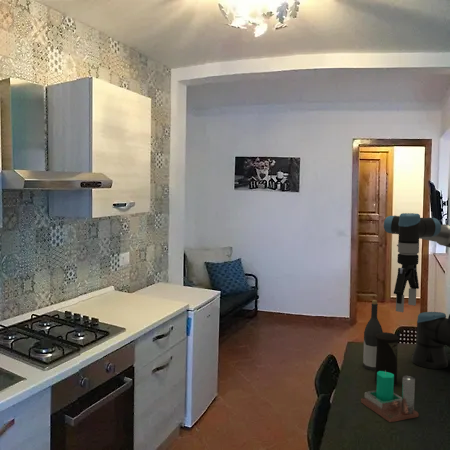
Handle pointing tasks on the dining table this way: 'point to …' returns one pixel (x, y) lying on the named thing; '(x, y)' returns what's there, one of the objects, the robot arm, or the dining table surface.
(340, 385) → the dining table surface
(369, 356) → the wine bottle
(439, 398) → the dining table surface
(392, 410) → the brown stand with post
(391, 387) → the candle
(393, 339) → the container
